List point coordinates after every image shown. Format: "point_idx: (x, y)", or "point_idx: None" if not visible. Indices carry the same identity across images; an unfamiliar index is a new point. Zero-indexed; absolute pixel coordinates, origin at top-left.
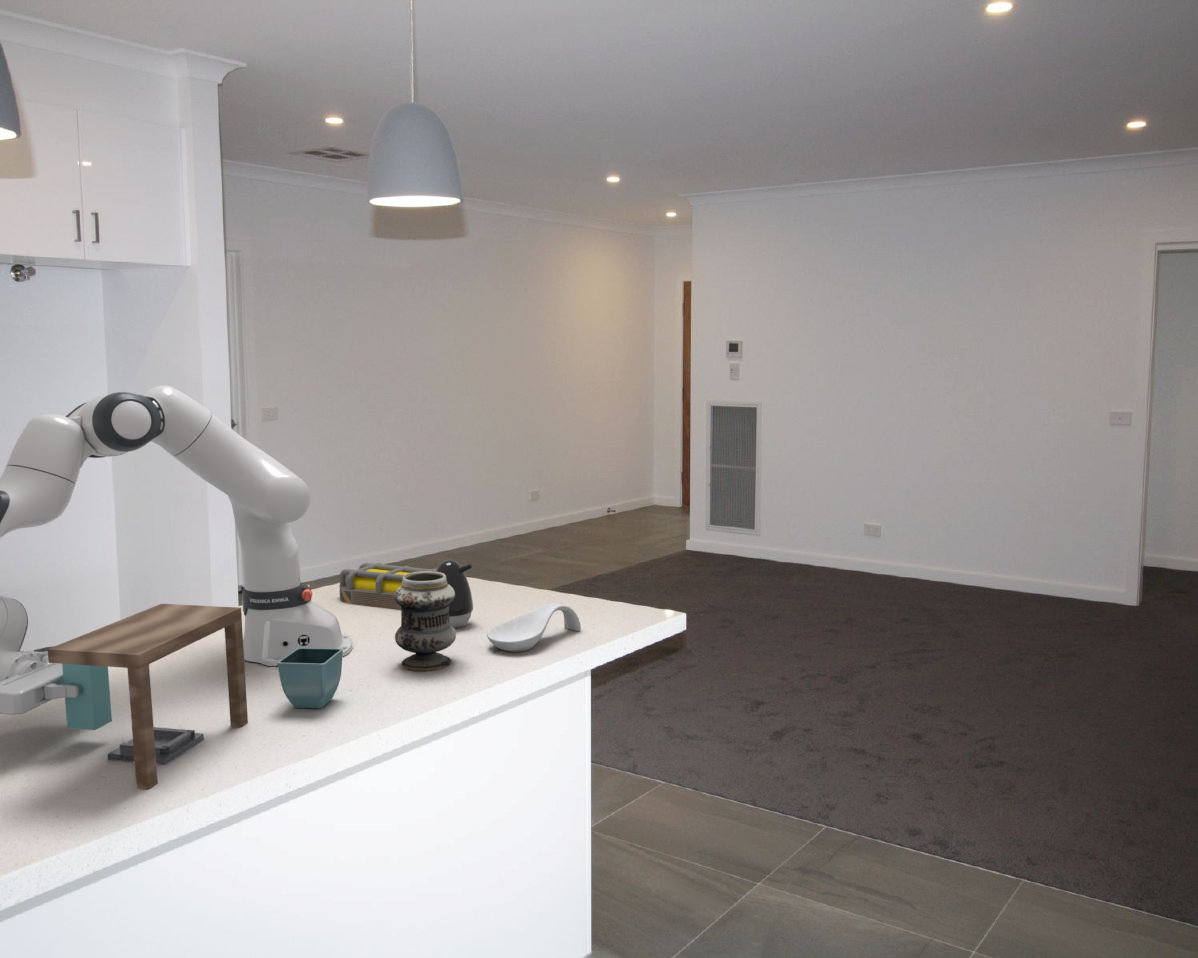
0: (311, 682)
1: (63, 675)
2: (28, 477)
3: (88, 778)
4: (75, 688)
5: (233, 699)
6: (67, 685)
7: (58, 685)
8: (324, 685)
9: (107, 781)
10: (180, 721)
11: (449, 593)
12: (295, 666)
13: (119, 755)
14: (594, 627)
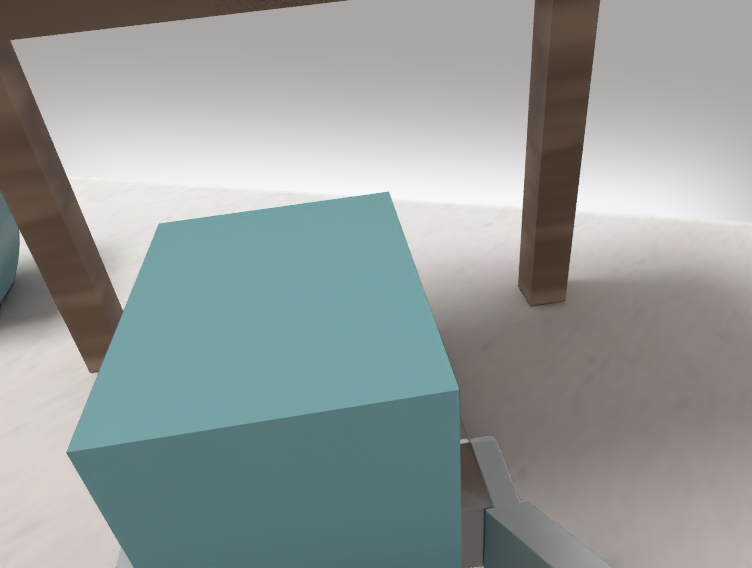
0: (2, 209)
1: (459, 565)
2: None
3: (617, 431)
4: (491, 436)
5: (101, 284)
6: (502, 502)
7: (560, 556)
8: None
9: (589, 374)
10: (61, 533)
11: None
12: None
13: (465, 435)
14: None
